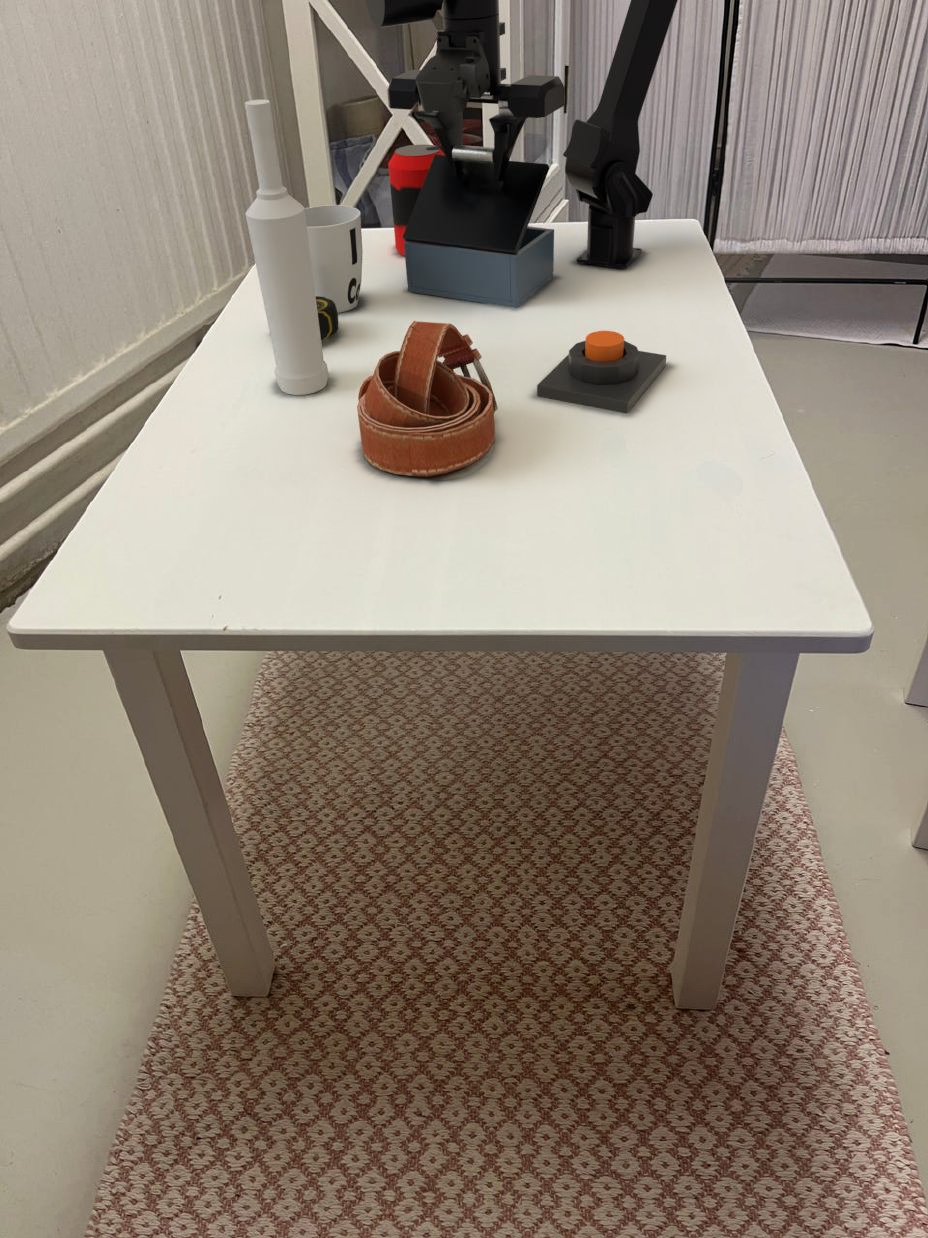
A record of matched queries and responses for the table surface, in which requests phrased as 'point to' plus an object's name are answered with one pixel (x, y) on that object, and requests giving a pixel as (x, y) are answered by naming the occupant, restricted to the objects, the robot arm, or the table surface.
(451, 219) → the box lid
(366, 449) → the belt
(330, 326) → the tape measure
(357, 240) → the cup
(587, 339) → the button
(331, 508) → the table surface
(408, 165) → the soda can
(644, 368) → the block
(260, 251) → the bottle
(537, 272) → the storage case
